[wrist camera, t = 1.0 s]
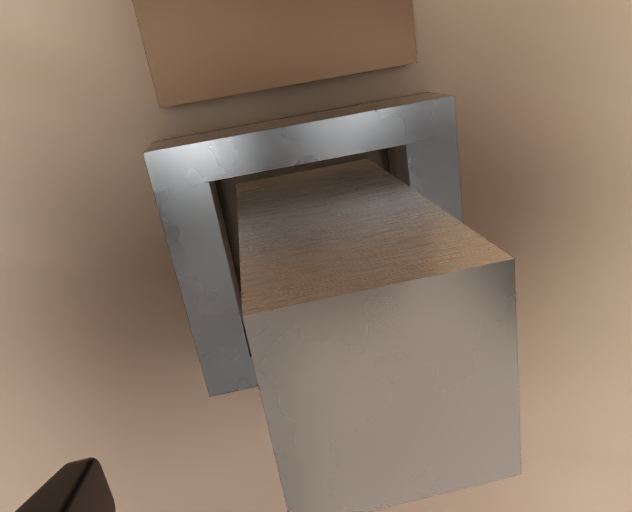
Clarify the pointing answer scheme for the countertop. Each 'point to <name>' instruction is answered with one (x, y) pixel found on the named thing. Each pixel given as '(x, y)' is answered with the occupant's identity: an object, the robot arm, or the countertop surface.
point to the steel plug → (376, 339)
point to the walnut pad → (268, 43)
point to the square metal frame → (273, 153)
